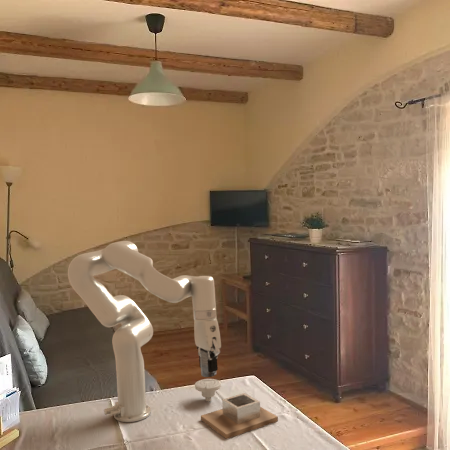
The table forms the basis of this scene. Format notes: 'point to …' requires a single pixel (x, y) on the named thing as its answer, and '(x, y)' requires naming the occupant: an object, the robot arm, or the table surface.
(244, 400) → the board
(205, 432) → the table surface
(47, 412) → the table surface
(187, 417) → the table surface
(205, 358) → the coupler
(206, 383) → the showerhead
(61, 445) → the table surface
